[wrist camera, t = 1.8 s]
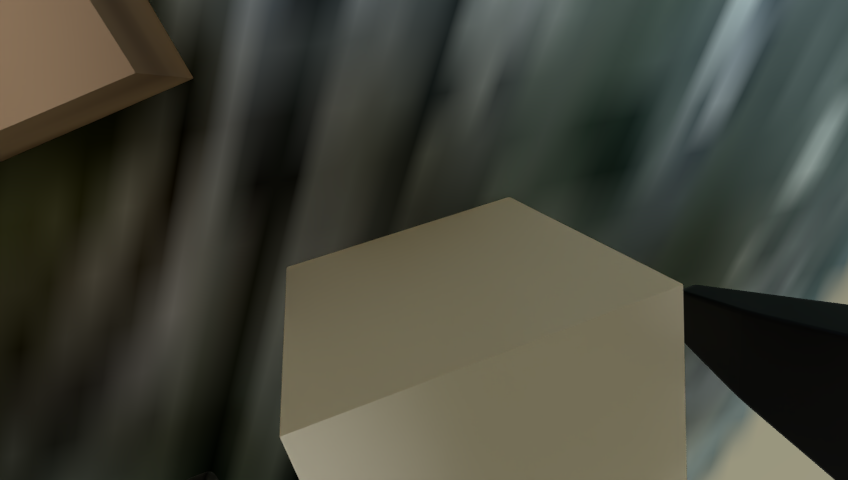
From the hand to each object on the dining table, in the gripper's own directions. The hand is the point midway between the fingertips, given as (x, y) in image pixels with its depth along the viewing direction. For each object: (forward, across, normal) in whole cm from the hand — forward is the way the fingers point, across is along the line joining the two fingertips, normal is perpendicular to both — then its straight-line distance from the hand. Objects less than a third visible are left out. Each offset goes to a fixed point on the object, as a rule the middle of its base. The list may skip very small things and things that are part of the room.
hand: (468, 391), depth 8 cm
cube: (+3, 0, 0) cm, 3 cm away
